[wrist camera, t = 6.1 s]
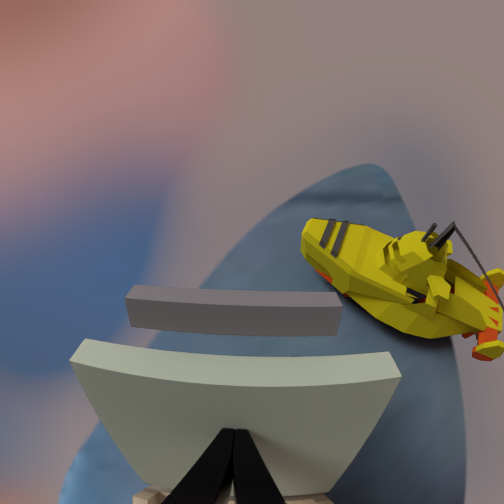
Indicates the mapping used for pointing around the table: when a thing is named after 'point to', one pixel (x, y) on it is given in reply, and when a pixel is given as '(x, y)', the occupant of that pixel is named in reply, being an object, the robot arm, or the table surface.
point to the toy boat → (409, 281)
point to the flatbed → (153, 495)
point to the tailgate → (236, 387)
